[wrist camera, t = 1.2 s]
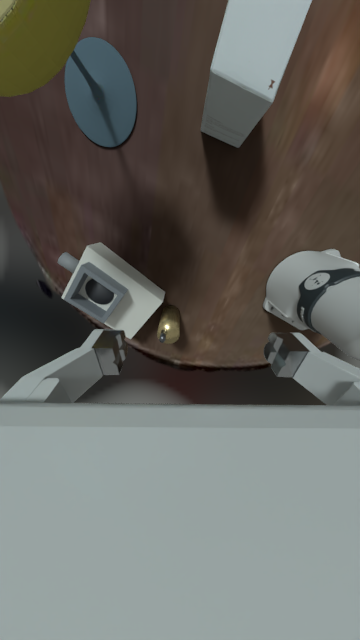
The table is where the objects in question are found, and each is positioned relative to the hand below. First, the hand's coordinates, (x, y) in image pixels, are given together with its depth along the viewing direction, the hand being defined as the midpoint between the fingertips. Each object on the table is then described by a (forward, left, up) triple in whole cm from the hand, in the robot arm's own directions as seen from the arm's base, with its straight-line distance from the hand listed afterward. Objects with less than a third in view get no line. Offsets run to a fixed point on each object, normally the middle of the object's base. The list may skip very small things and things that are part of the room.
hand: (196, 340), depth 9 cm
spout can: (-7, +15, -32) cm, 36 cm away
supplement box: (+9, -20, -32) cm, 39 cm away
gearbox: (+9, +18, -32) cm, 38 cm away
